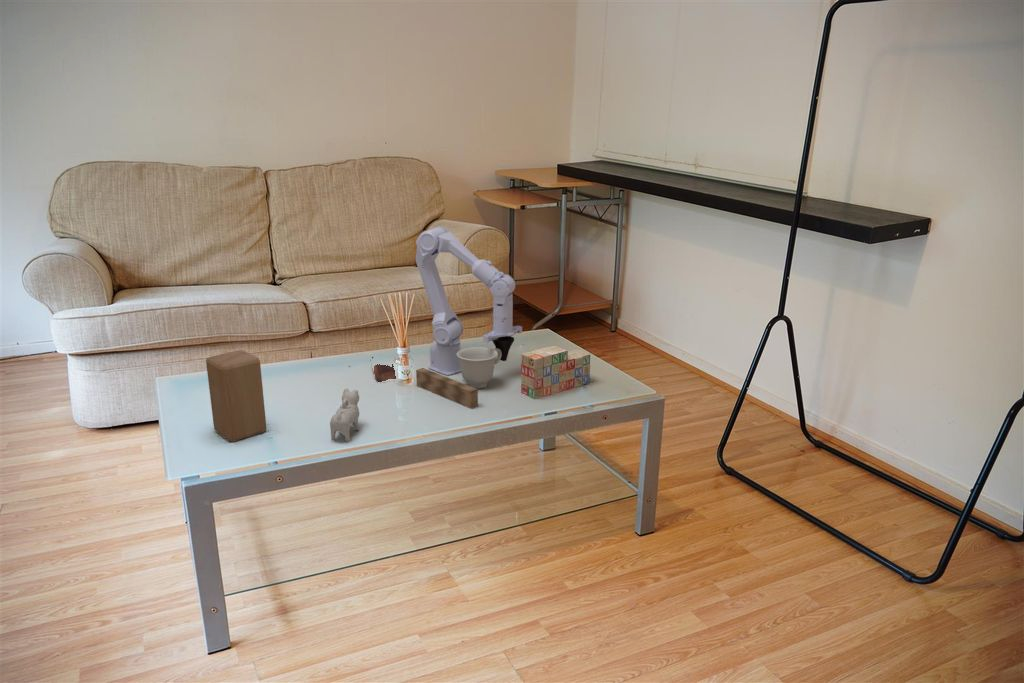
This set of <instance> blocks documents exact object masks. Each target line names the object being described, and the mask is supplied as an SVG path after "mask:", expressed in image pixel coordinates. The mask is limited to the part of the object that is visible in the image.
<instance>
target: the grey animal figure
mask: <svg viewBox="0 0 1024 683" xmlns="http://www.w3.org/2000/svg"><path fill="white" fill-rule="evenodd" d="M359 401H360V395H359V390H357V389H353V390H352V391H349V388H345V389H343V392H342V395H341V402H342V404H341V405H339V408H338V409H337V410H336V412H335V414H334V415H332V417H331V418H330V422H329V427H330V436H331V439H330V440H331V441H332V440H335V441H336V434H337V432H339V433H341V434H343V436H344V437H345V438H344V442H346V441H347V443H349V442H351V438H350V426H351V425H352V426H353V428H354V431H355V430H359V431H361V428H360V425H359V417H360V410H359V407H358V403H359Z"/></svg>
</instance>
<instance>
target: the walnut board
mask: <svg viewBox="0 0 1024 683" xmlns="http://www.w3.org/2000/svg"><path fill="white" fill-rule="evenodd" d="M415 371H416V373H415V374H416V376H415V377H416V387H418V388H421V389H423V390H426V391H429V392H431V393H432V394H435V395H437V396H439V397H443V398H445V399H447V400H449V401H452V402H454V403H457V404H459V405H461V406H463V407H467V408H468V409H471V410H472V409H474V408H477V407H479V391H478V390H479V388H478V389H477V388H473V387H471V386H468V384H466V383H462V382H461V381H459V380H458V381H457V380H455V379H453V378H450V377H448V376H446V375H445V376H444V375H443V374H441V373H437V372H436V371H435V372H434V371H433V370H431V369H430V370H429V369H427V368H424V367H421V368H417V369H416V370H415Z"/></svg>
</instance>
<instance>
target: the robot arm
mask: <svg viewBox="0 0 1024 683" xmlns="http://www.w3.org/2000/svg"><path fill="white" fill-rule="evenodd" d="M415 244H416V253H415V264H416V266H417V269H418V273H419V274H420V278H421V281H422V284H423V287H424V290H425V293H426V297H427V299H428V301H429V305H430V308H431V310H432V313H433V318H432V322H431V325H432V328H433V330H432V331H433V332H432V336H433V337H432V338H433V340H434V341H433V342H432V343H431V345H430V348H429V356H430V357H429V358H430V365H429V366H428V370H429V369H430V370H431V371H433V372H434V371H435V372H436V373H437V372H438V374H441V375H445V376H450V375H454V374H456V373H460V372H461V366H460V360H459V357H458V356H457V352H458V351H460V350H461V339H460V338H461V335H462V334H463V333H464V326H463V323H462V321H460V320H459V318H458V316H457V313H456V312H454V311H453V310H452V309H451V306H450V304H449V300H448V298H447V294H446V291H445V288H444V285H443V283H442V279H441V276H440V273H439V271H438V268H437V264H436V260H437V257H438V256H439V254H440V253H449V254H451V255H452V256H454V257H456V259H458V260H459V261H461V262H462V263H463V264H465V265H466V266H468V267H469V268H470V269H471V273H472V275H473V276H474V277H475V278H477V280H478V281H480V282H481V283H482V284H484V286H486V287H487V288H489V292H490V293H491V295H492V297H493V298H492V299H493V300H492V301H493V304H492V306H493V308H492V310H493V313H492V314H493V316H492V317H493V319H492V320H493V322H492V324H493V326H492V327H493V329H492V330H491V331H489V332H487V333H485V334H483V335H482V342H483V343H487V344H488V343H490V342H492V343H493V344H494V346H495V348H498V349H500V350H501V353H502V356H501V359H500V361H502V362H507V361H508V360H507V359H508V355H509V352H510V349H511V347H512V345H513V343H514V342H515V337H514V336H515V335H516V334H522V333H523V326H522V325H513V317H514V316H513V310H514V309H513V308H514V305H513V292H514V291H515V289H516V281H515V280H514V278H513V277H512V275H509V274H505V273H504V272H503V271H501V270H500V271H499V270H498V269H497V268H496V267H495V266H494V265H492V263H493V262H492V261H491V260H487V259H484V258H483V259H479V258H477V256H476V255H474V254H473V253H472V252H471V251H470V250H469V249H468V248H467V247H466V246H464V244H462V243H461V242H460V241H459V240H458V239H457V238H456V237H455V235H454V234H453V232H451V231H448V230H447V228H445V227H443V226H441V225H439V226H435V227H434V228H431V229H428V230H423V231H422V232H421V233H420V235H419V236H418V238H417V239H416V240H415Z"/></svg>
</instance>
